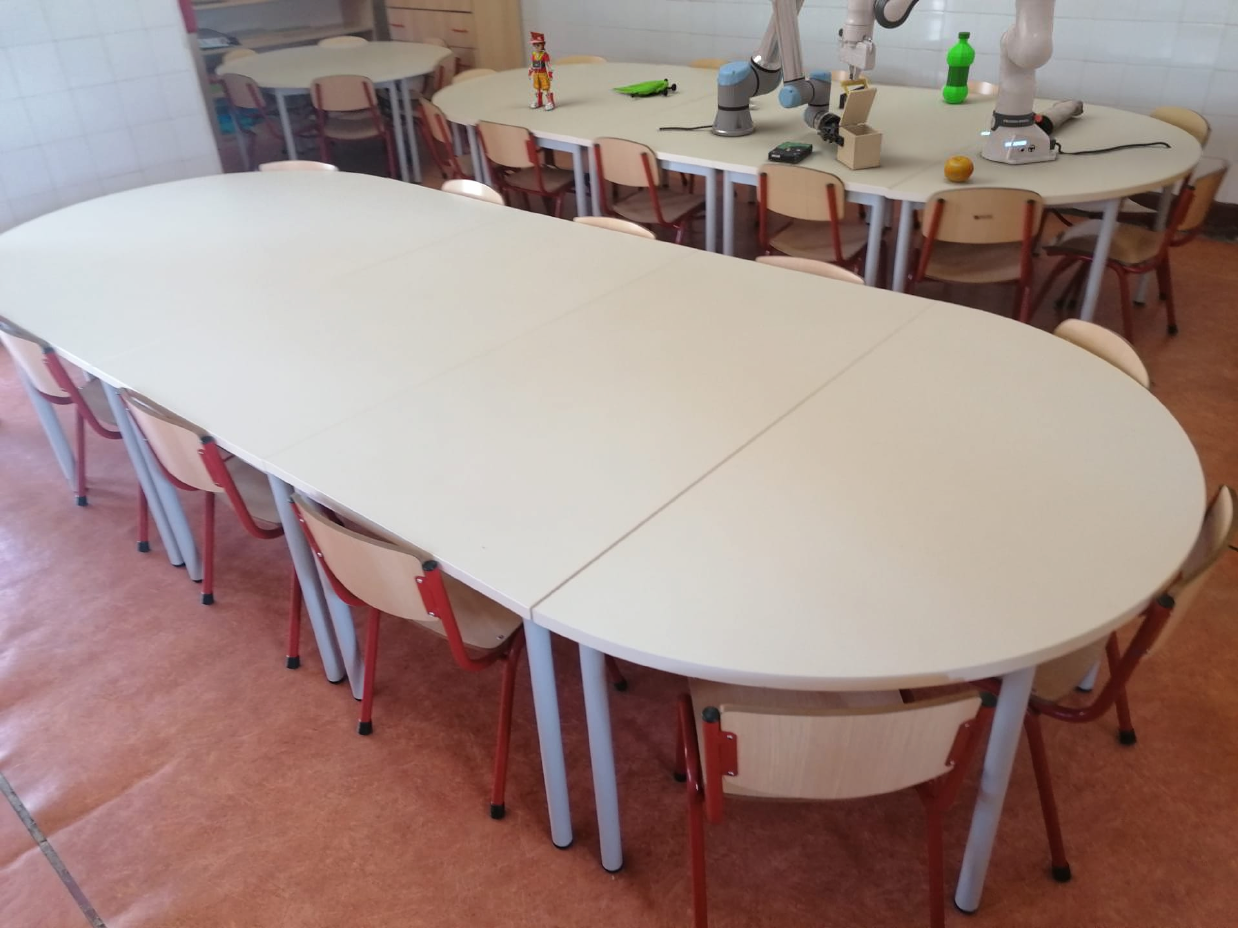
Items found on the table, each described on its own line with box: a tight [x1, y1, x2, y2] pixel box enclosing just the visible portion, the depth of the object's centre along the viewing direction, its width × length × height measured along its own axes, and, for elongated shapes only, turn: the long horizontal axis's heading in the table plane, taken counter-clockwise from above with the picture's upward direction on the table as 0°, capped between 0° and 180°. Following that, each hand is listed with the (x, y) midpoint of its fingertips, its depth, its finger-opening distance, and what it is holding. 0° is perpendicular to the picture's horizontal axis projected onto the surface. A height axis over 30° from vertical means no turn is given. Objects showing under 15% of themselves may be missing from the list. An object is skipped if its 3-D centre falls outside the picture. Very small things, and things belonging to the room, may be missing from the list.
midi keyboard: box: [838, 85, 865, 109], centre depth 359 cm, size 18×1×5 cm, turn 138°
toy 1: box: [527, 31, 556, 111], centre depth 374 cm, size 12×9×30 cm
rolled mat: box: [1035, 99, 1084, 136], centre depth 319 cm, size 30×9×10 cm
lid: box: [839, 78, 878, 126], centre depth 292 cm, size 13×9×9 cm
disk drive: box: [767, 141, 814, 164], centre depth 306 cm, size 10×3×15 cm
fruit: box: [943, 155, 975, 183], centre depth 275 cm, size 8×8×8 cm
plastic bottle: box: [942, 31, 976, 104], centre depth 348 cm, size 10×10×25 cm
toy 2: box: [612, 78, 677, 99], centre depth 396 cm, size 28×5×30 cm
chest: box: [836, 123, 883, 171], centre depth 294 cm, size 13×9×10 cm
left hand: (857, 140), depth 295 cm, fingers closed on chest, 9 cm apart
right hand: (853, 80), depth 290 cm, fingers closed, pressing on lid
